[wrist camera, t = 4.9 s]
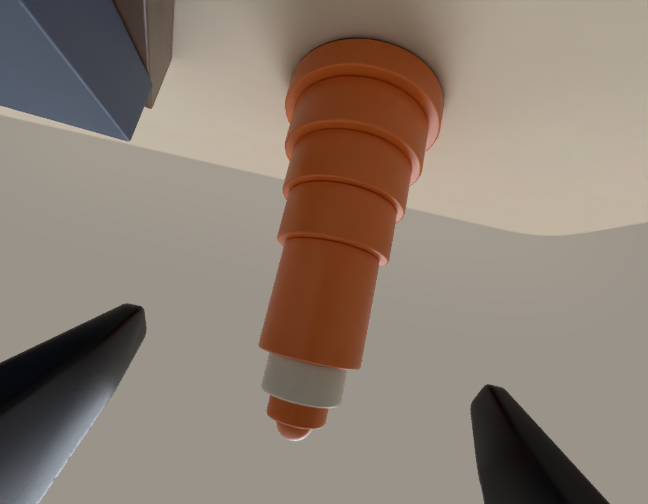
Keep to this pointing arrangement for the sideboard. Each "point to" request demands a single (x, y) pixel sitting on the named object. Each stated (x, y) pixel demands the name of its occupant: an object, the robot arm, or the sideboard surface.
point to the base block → (150, 36)
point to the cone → (340, 214)
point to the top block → (72, 65)
